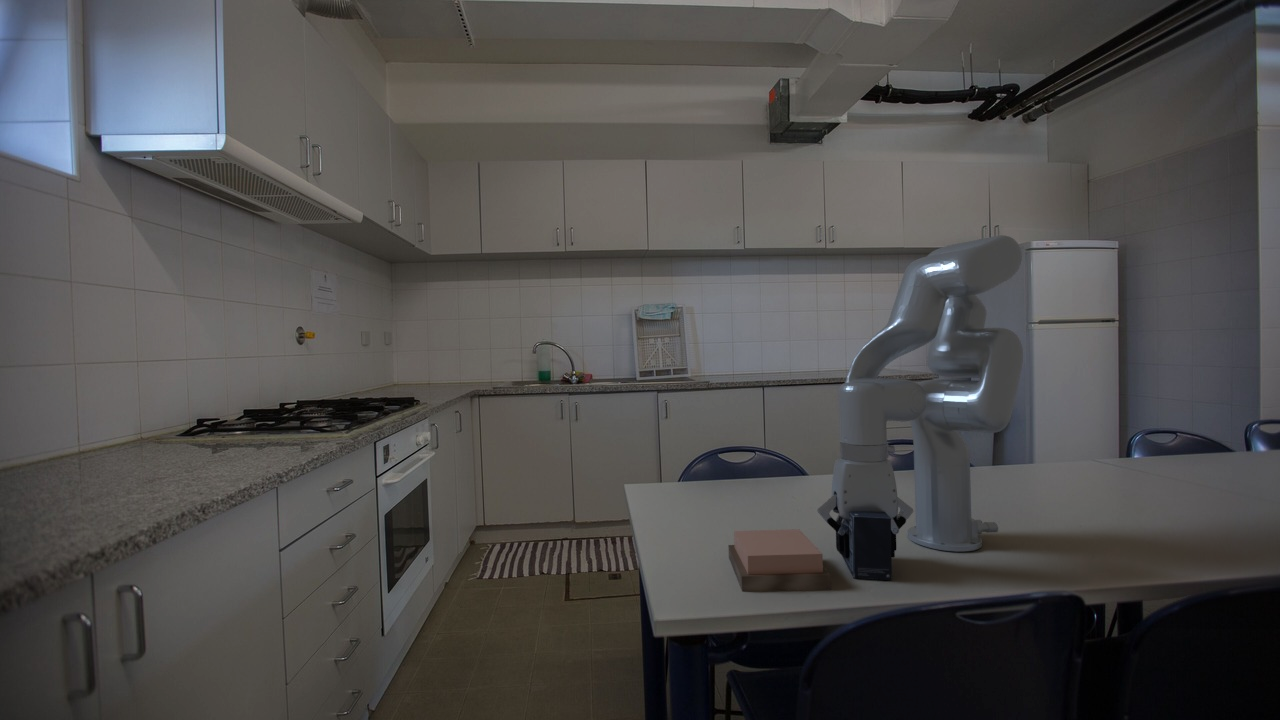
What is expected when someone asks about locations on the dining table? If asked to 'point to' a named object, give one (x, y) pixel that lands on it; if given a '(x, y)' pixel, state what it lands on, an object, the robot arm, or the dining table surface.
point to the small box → (869, 545)
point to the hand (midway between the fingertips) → (866, 554)
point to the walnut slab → (777, 578)
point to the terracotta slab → (777, 552)
